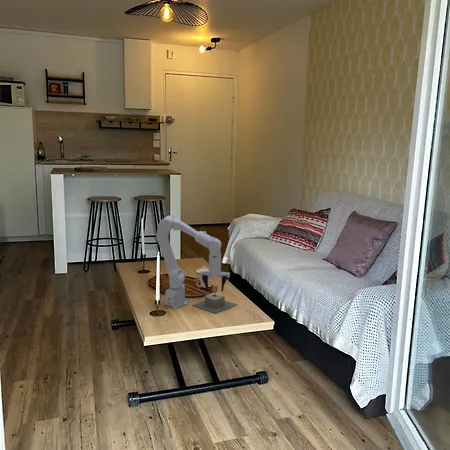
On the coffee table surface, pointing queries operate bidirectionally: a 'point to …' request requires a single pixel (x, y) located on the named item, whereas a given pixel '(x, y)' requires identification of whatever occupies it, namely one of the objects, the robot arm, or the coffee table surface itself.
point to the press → (214, 303)
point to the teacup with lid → (199, 278)
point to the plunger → (214, 290)
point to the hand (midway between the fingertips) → (214, 290)
